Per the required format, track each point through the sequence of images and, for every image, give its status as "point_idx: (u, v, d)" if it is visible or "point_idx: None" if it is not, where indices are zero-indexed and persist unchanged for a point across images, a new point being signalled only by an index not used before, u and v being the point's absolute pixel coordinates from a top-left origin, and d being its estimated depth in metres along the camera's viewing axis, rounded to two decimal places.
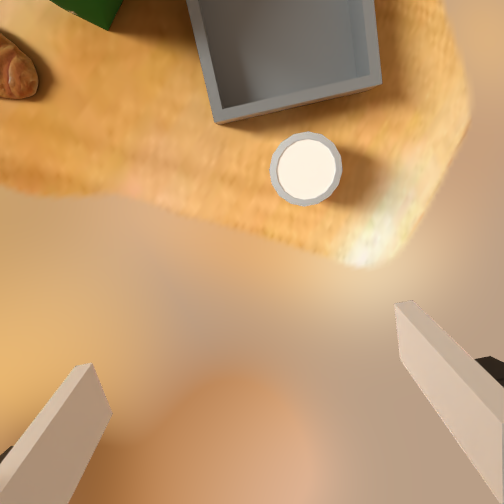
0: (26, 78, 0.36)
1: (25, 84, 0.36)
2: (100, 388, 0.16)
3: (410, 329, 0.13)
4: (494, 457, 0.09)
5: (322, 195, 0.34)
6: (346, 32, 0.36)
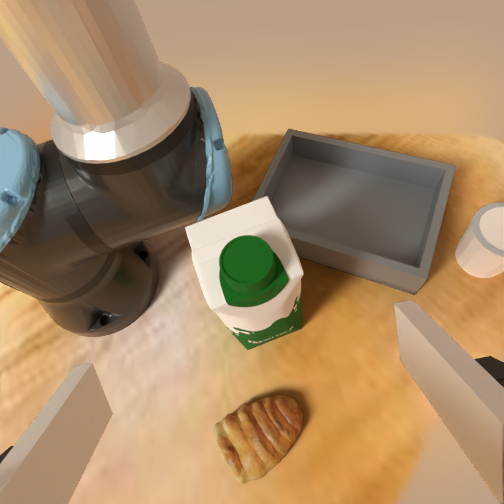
0: (293, 407, 0.38)
1: (297, 412, 0.38)
2: (100, 388, 0.16)
3: (410, 329, 0.13)
4: (494, 457, 0.09)
5: None
6: (398, 183, 0.49)
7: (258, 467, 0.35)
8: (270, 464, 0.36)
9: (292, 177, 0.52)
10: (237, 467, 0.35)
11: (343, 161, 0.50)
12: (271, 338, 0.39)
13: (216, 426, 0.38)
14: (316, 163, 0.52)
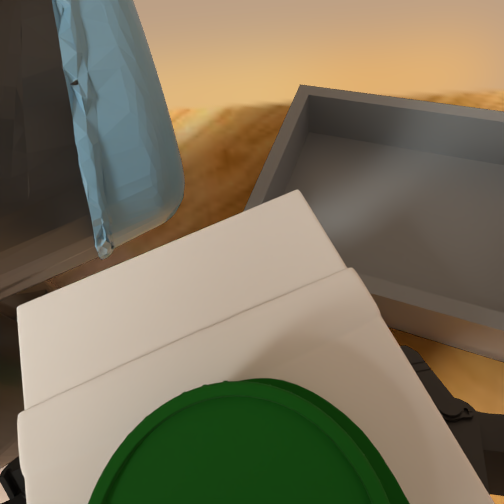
0: None
1: None
2: None
3: None
4: None
5: None
6: (498, 169, 0.28)
7: None
8: None
9: (310, 168, 0.30)
10: None
11: (398, 136, 0.29)
12: None
13: None
14: (349, 143, 0.31)
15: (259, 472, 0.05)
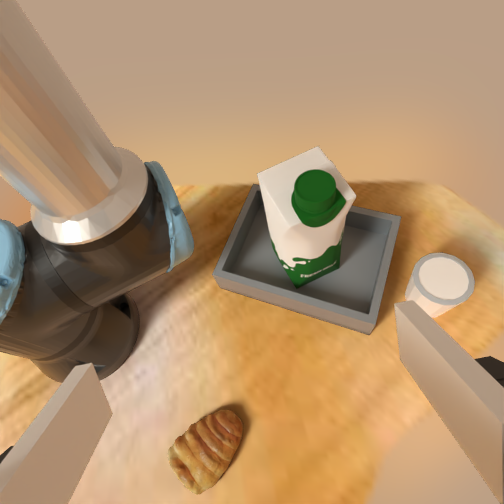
0: (231, 418, 0.44)
1: (235, 421, 0.44)
2: (100, 388, 0.16)
3: (410, 329, 0.13)
4: (494, 457, 0.09)
5: (468, 275, 0.43)
6: (354, 230, 0.54)
7: (208, 477, 0.41)
8: (218, 471, 0.41)
9: (259, 226, 0.57)
10: (190, 481, 0.40)
11: None
12: (319, 272, 0.48)
13: (169, 450, 0.44)
14: None
15: (317, 178, 0.35)
